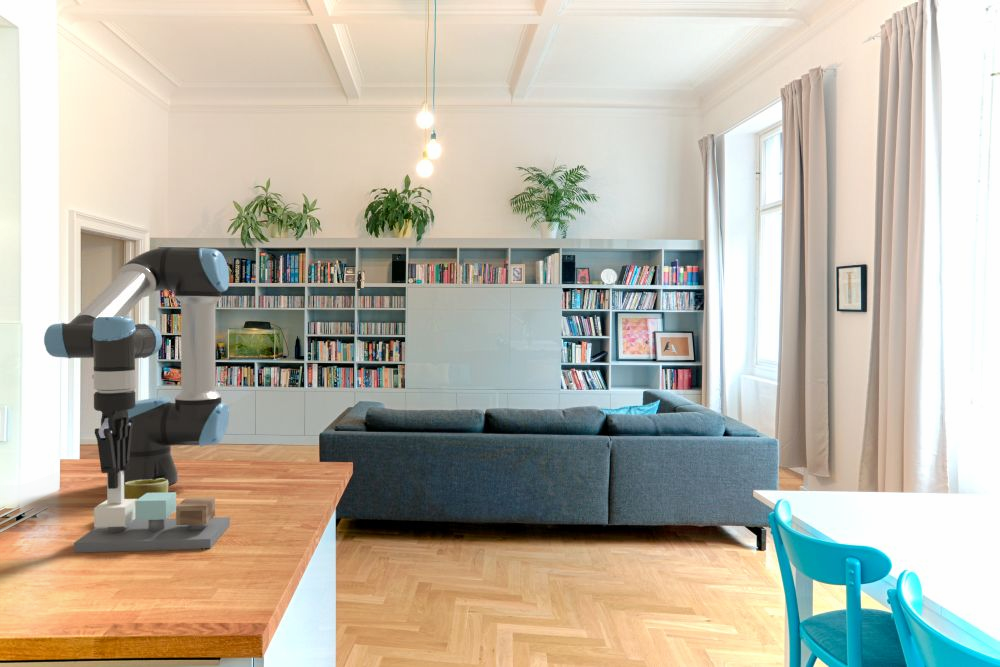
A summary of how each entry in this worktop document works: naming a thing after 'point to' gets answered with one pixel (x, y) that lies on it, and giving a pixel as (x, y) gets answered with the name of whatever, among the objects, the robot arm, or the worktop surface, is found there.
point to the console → (152, 536)
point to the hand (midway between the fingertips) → (115, 502)
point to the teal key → (155, 506)
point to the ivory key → (114, 513)
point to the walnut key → (195, 511)
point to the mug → (144, 487)
